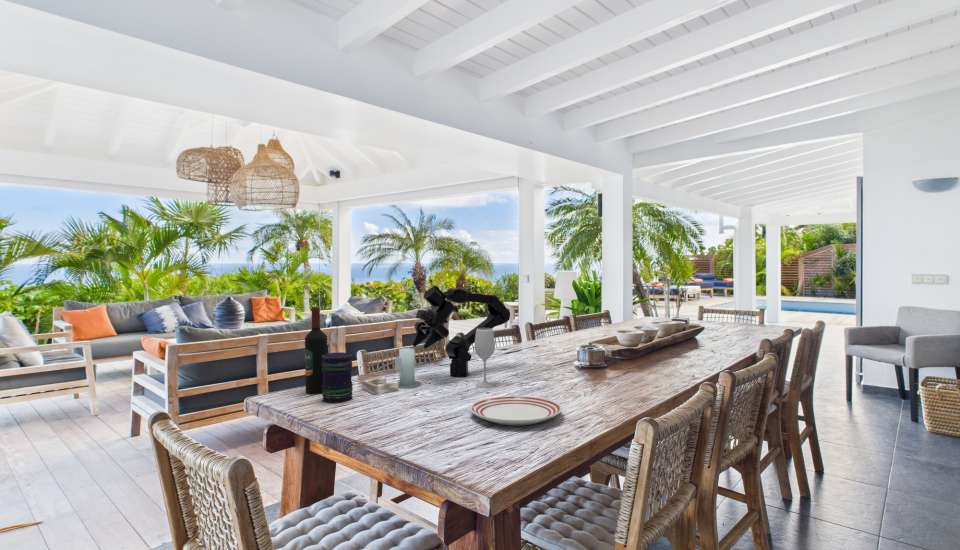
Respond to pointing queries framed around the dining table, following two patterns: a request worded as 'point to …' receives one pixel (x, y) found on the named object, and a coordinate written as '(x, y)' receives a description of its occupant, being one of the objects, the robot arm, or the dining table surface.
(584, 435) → the dining table surface
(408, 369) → the pale green rounded piece
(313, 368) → the wine bottle
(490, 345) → the wineglass
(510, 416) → the dinner plate
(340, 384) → the storage jar
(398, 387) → the grey flat disc
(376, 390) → the frame
